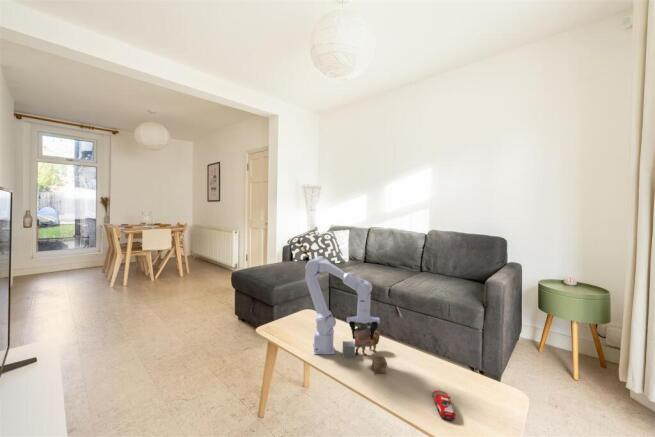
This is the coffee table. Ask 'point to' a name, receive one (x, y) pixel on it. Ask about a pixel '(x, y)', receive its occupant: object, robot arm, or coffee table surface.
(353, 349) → the gray block
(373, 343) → the lion figurine
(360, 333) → the lighter
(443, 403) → the race car
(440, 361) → the coffee table surface
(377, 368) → the walnut block
